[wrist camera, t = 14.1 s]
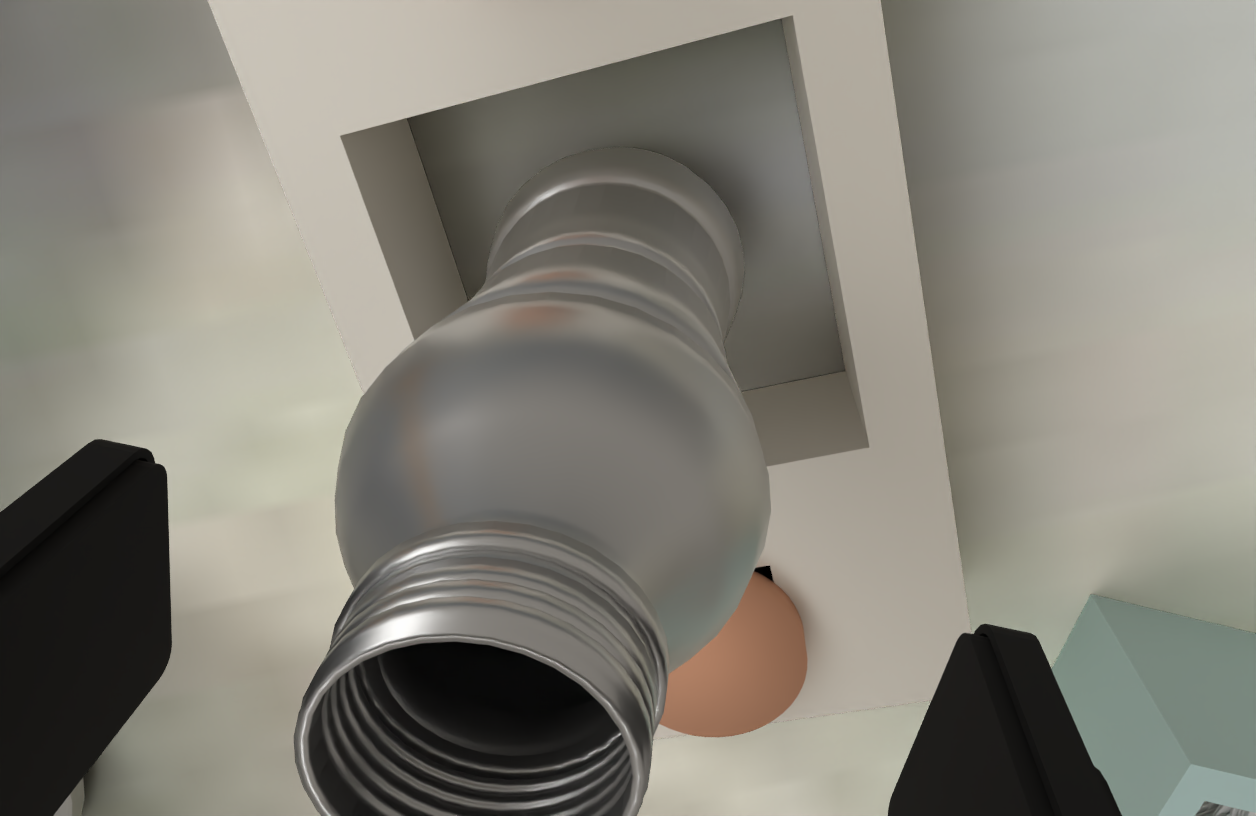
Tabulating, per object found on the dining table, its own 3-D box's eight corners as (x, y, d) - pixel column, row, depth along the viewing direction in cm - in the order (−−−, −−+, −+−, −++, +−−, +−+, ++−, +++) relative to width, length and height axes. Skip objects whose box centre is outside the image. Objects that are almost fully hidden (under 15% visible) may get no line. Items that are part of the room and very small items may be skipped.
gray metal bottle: (482, 157, 27) (34, 550, 9) (722, 107, 26) (743, 442, 8) (538, 368, 30) (272, 998, 12) (760, 330, 29) (837, 960, 11)
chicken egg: (806, 604, 32) (823, 723, 27) (651, 629, 33) (640, 748, 28) (775, 466, 30) (787, 567, 25) (612, 497, 31) (592, 600, 26)
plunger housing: (942, 589, 32) (980, 693, 28) (535, 654, 35) (508, 760, 30) (787, -413, 22) (807, -510, 17) (220, -218, 24) (105, -258, 20)
